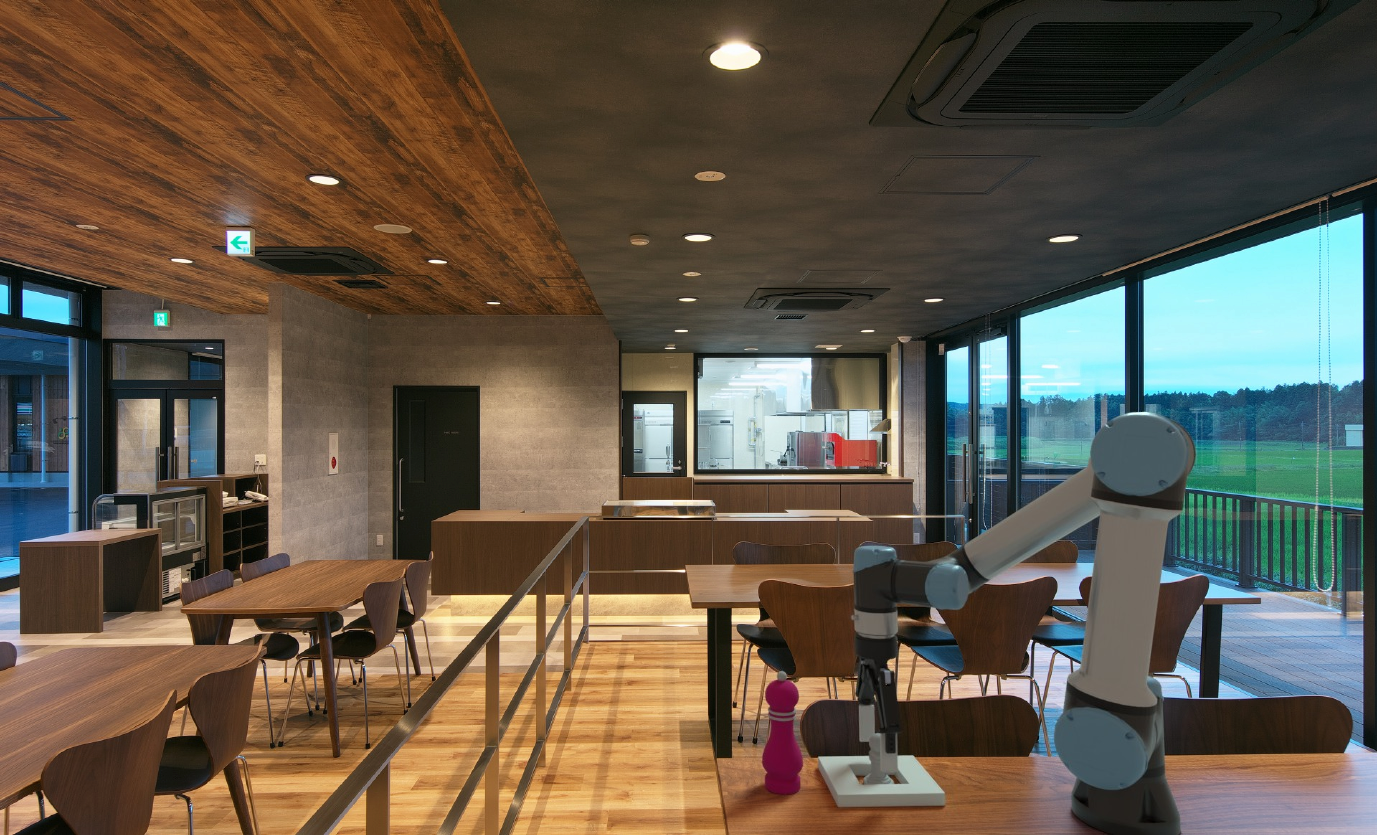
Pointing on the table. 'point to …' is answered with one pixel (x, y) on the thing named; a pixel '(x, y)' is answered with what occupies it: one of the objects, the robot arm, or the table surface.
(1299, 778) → the table surface
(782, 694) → the pepper mill
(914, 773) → the socket board
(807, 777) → the table surface
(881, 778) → the chess piece
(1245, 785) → the table surface
